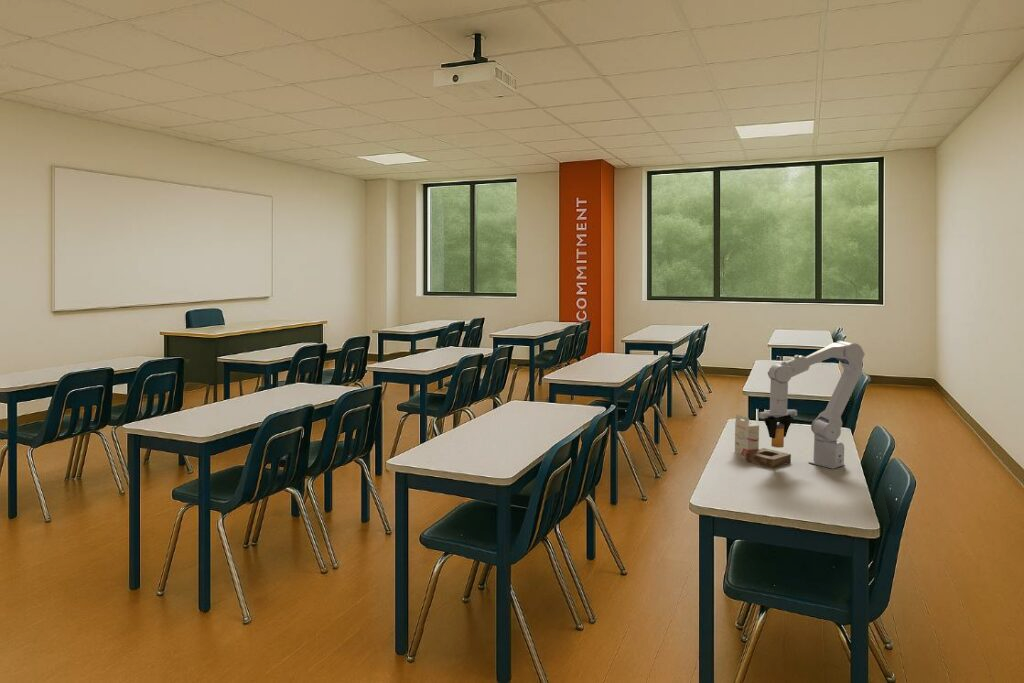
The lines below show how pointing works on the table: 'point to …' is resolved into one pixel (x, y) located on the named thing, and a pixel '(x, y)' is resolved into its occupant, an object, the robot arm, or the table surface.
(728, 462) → the table surface
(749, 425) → the ink cartridge box
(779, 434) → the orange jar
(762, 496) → the table surface
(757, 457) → the socket block
